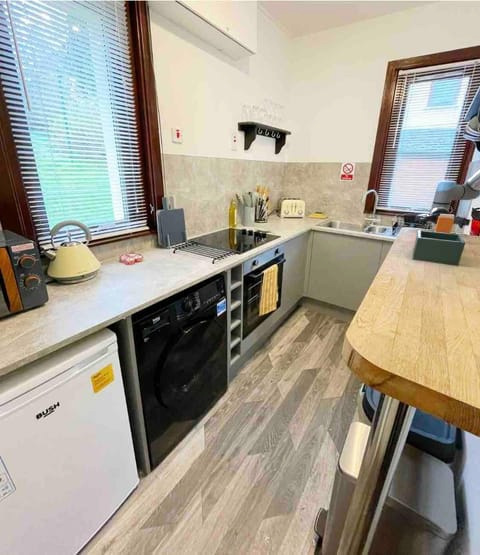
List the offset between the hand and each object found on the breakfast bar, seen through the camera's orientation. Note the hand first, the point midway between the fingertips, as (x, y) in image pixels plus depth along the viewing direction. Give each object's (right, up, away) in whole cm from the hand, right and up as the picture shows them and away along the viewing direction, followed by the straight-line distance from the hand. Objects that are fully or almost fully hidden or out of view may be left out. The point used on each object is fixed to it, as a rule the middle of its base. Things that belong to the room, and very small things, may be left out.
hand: (442, 223), depth 117 cm
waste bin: (-19, -16, -22) cm, 33 cm away
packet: (-3, -8, -3) cm, 9 cm away
